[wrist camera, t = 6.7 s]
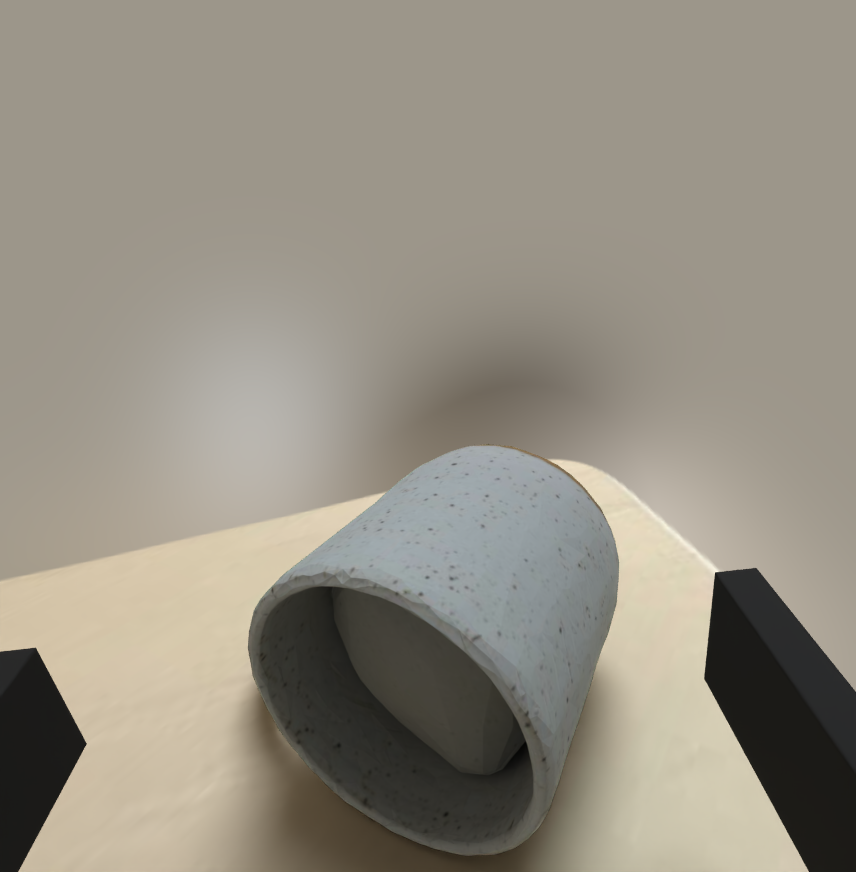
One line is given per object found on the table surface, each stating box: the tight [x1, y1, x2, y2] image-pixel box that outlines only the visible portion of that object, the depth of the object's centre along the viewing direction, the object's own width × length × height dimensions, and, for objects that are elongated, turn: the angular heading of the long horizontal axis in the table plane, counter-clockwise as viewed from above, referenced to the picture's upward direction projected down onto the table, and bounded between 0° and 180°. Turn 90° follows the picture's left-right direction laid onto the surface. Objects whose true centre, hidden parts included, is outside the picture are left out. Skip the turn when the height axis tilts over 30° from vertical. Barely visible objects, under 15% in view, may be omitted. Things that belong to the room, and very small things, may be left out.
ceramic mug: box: [248, 444, 619, 856], centre depth 17 cm, size 11×8×8 cm
